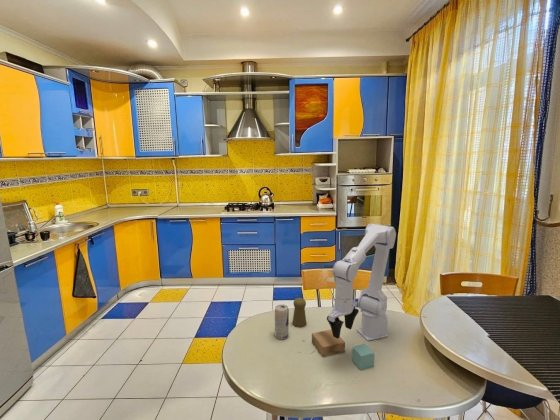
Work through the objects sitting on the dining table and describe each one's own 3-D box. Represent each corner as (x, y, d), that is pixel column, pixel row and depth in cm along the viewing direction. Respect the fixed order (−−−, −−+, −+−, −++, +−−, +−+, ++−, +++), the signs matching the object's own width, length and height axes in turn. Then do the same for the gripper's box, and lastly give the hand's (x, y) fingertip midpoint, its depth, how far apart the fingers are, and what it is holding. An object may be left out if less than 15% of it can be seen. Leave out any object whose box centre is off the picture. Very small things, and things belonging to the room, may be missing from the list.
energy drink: (290, 333, 121) (290, 305, 119) (286, 341, 116) (286, 312, 114) (277, 331, 123) (277, 303, 121) (272, 338, 118) (272, 309, 116)
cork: (305, 328, 125) (306, 303, 123) (291, 326, 126) (291, 302, 124) (307, 320, 131) (307, 296, 129) (293, 319, 132) (293, 295, 130)
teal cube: (364, 357, 107) (365, 343, 106) (373, 366, 102) (374, 352, 101) (351, 360, 105) (352, 346, 104) (360, 370, 100) (361, 356, 100)
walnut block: (332, 338, 118) (333, 329, 118) (344, 352, 110) (345, 342, 109) (311, 343, 116) (311, 333, 115) (322, 357, 107) (322, 347, 106)
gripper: (345, 285, 110) (344, 320, 113) (321, 299, 100) (320, 336, 103) (362, 291, 106) (361, 327, 108) (339, 306, 95) (337, 345, 98)
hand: (342, 332), depth 105 cm, fingers open, 7 cm apart
